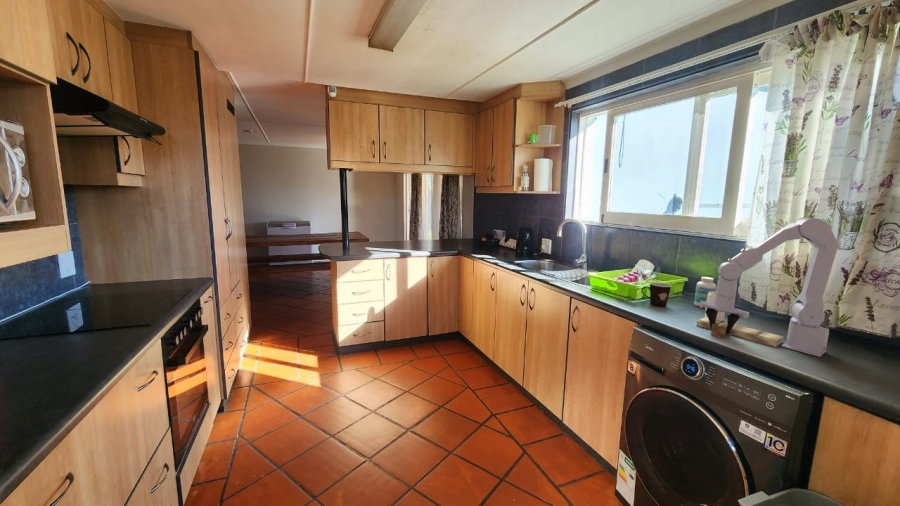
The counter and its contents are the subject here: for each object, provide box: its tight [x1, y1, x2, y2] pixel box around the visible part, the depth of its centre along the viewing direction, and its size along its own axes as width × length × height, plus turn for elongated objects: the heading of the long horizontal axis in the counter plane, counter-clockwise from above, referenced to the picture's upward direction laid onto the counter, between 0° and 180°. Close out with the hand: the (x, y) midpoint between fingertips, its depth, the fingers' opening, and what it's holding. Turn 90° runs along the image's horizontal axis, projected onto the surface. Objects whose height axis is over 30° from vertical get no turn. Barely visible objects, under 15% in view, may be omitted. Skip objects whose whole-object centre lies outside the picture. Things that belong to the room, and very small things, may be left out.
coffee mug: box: [640, 281, 672, 309], centre depth 168 cm, size 12×9×10 cm
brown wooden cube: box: [710, 322, 730, 339], centre depth 132 cm, size 4×5×4 cm
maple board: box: [696, 316, 784, 348], centre depth 134 cm, size 24×8×2 cm, turn 34°
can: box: [704, 290, 726, 321], centre depth 148 cm, size 6×6×12 cm
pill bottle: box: [693, 276, 717, 308], centre depth 167 cm, size 8×7×14 cm
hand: (720, 331), depth 132 cm, fingers open, 4 cm apart
